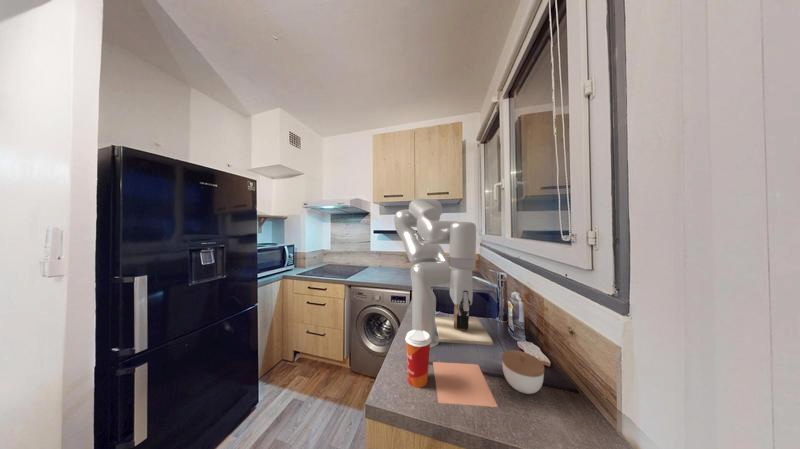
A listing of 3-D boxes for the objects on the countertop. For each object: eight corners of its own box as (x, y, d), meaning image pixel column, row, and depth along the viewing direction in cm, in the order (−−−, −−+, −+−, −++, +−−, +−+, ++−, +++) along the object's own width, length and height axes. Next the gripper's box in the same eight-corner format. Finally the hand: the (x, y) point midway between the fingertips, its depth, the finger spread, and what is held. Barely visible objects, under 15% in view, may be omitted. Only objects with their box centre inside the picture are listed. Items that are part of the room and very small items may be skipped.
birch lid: (434, 318, 72) (435, 298, 72) (477, 321, 71) (478, 300, 71) (439, 341, 58) (440, 316, 58) (493, 344, 57) (493, 319, 57)
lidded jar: (551, 405, 56) (552, 369, 56) (507, 398, 58) (507, 363, 59) (534, 377, 67) (535, 347, 67) (497, 372, 69) (498, 342, 69)
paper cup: (406, 371, 68) (407, 327, 69) (431, 375, 67) (432, 330, 67) (402, 390, 61) (403, 340, 61) (429, 394, 59) (430, 343, 59)
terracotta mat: (432, 363, 73) (432, 361, 73) (478, 366, 72) (478, 364, 72) (438, 405, 56) (438, 402, 56) (497, 409, 55) (497, 406, 55)
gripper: (445, 258, 73) (444, 312, 73) (454, 268, 56) (452, 338, 56) (467, 259, 72) (466, 313, 72) (483, 269, 56) (482, 340, 56)
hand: (460, 323), depth 64 cm, fingers closed on birch lid, 4 cm apart
